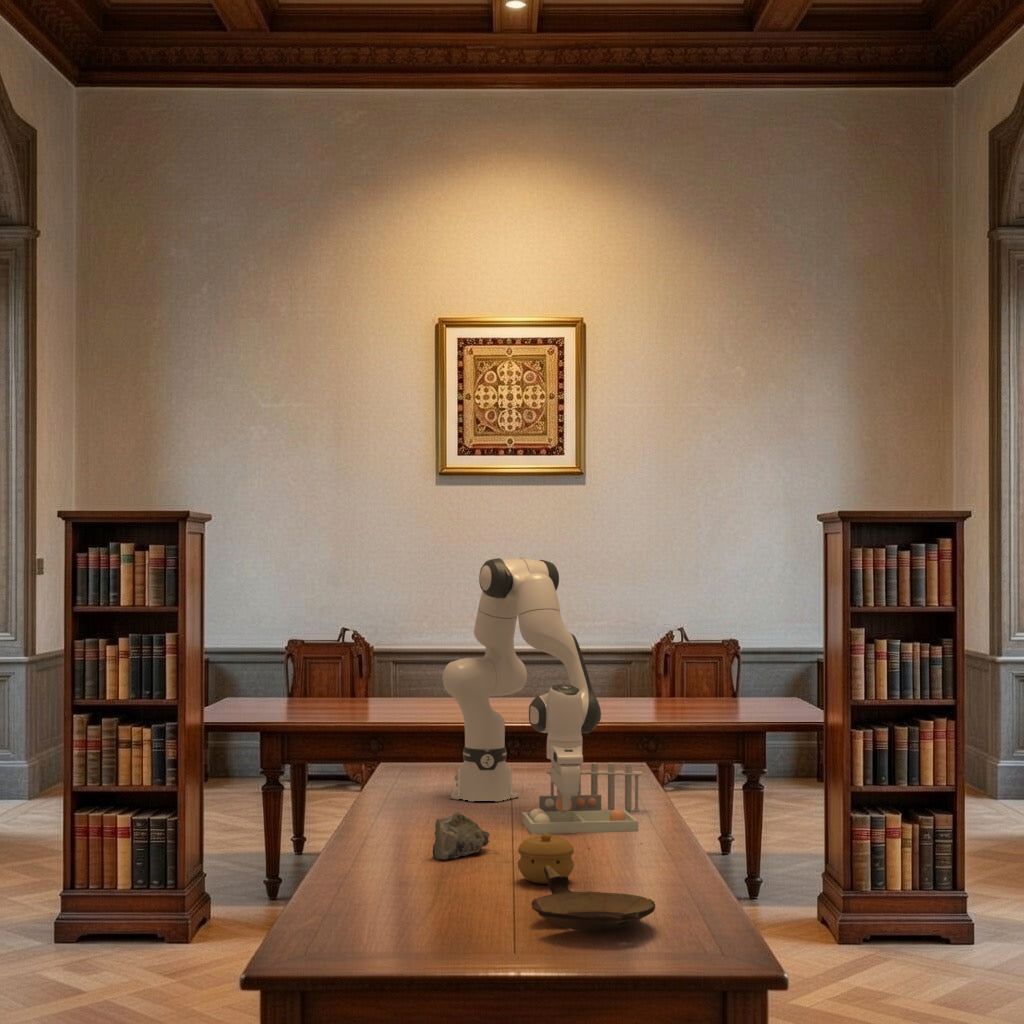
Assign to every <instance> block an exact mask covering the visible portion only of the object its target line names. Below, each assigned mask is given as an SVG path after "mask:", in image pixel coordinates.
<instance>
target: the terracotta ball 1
mask: <svg viewBox="0 0 1024 1024" xmlns="http://www.w3.org/2000/svg"><path fill="white" fill-rule="evenodd" d="M561 802H562V796H561V797H559V798H558V799H557V800H556V803H555V806H556V808H557V810H558V811H559V812H562V813H565V812H568V811H569V810H570V809H571V805H572V803H571V800H570V806H569V810H563V809H562V808H561Z"/></svg>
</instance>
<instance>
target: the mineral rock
mask: <svg viewBox="0 0 1024 1024" xmlns="http://www.w3.org/2000/svg"><path fill="white" fill-rule="evenodd" d="M434 828H435V831H434V836H435V840H434V843H433V845H432V858H435V859H436V860H440V861H446V860H449V859H458V858H459V857H467V856H469V855H470V854H475V853H477V852H478V851H479V850H481V849H482V848H484V847H487V845H489V843H490V841H489V838H490V833H489V832H488V831H486V830H483V829H482V828H481V827H480V826H479V824H478V823H477V822H475V821H474V820H472V819H471V818H468V817H467V816H466V815H464V814H461V813H460V812H458V811H456V812H454V813H453V814H452V815H450V816H449V817H441V818H437V819H436V820H435V827H434Z"/></svg>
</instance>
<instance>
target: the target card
mask: <svg viewBox="0 0 1024 1024" xmlns="http://www.w3.org/2000/svg"><path fill="white" fill-rule="evenodd" d="M538 797H539V798H538V799H539V800H538V803H539V804H538V808H539V809H542V810H543V811H544V812H554V811H558V810H557V808H556V806H555V803H556V800H557V799H558V796H557V795H554V796H551V795H539V796H538ZM570 800H571V803H572V805H571V809H570V810H569V811H600V810H602V794H598V795H591V794H581V795H577V796H571V799H570Z"/></svg>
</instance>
